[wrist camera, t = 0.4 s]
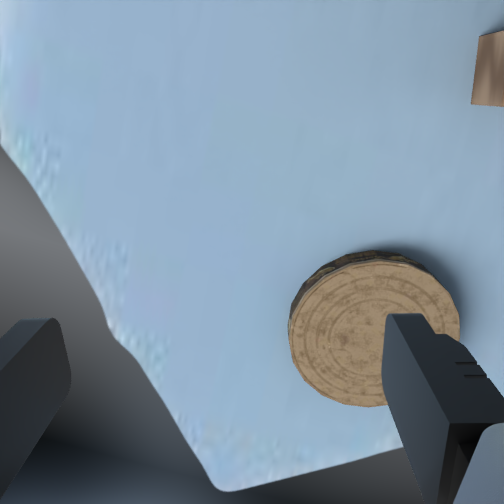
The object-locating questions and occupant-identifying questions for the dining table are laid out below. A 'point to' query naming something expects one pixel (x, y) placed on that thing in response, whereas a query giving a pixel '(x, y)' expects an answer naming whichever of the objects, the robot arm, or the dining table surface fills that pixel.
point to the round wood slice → (360, 321)
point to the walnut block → (489, 71)
